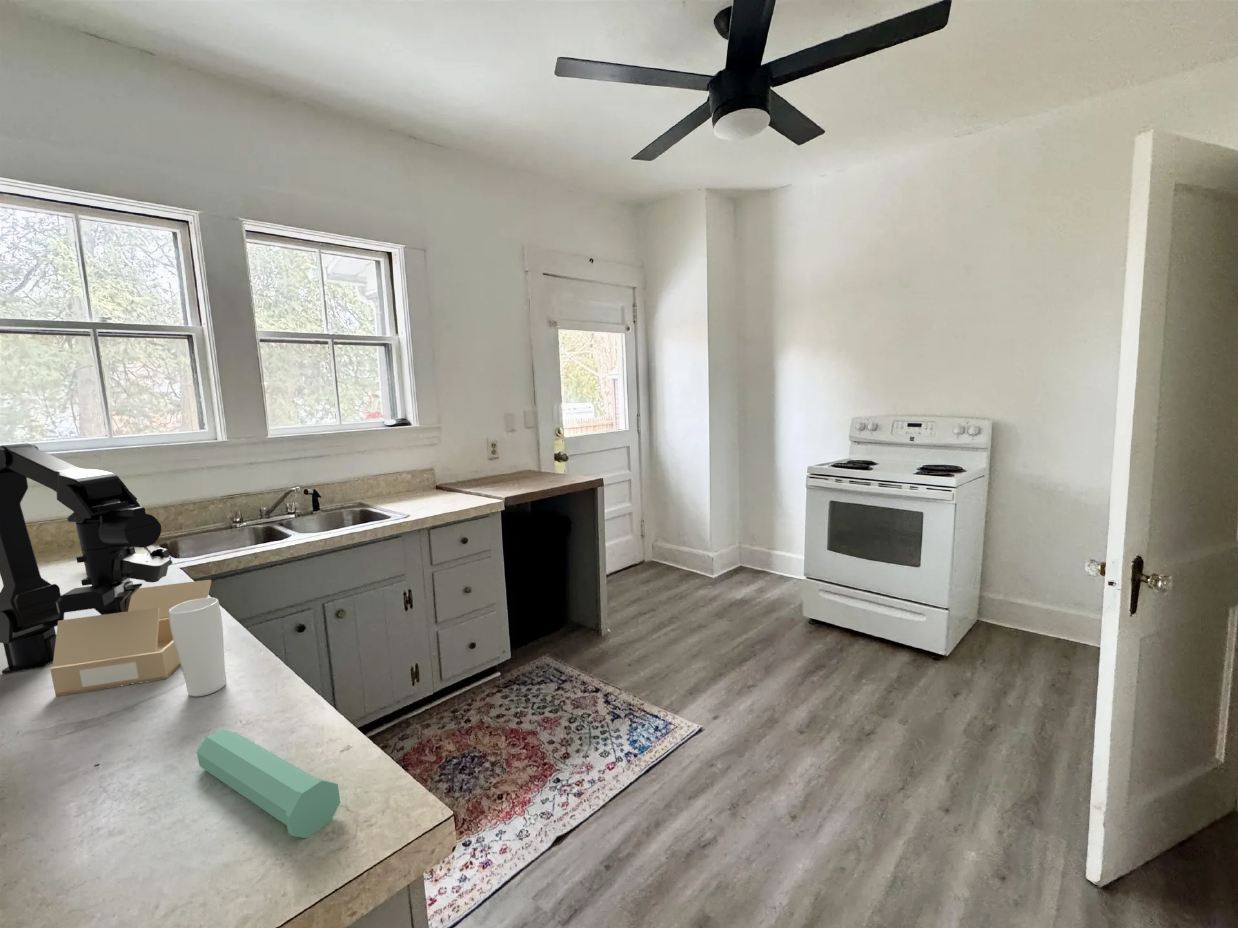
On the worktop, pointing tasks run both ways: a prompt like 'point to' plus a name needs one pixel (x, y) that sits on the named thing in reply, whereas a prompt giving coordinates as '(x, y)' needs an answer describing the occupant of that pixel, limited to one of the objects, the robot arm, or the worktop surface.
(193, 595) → the flap
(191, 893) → the worktop surface
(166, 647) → the carton
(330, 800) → the green octagonal rod
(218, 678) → the drinking glass
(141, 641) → the flap
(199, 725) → the worktop surface
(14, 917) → the worktop surface
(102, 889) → the worktop surface
